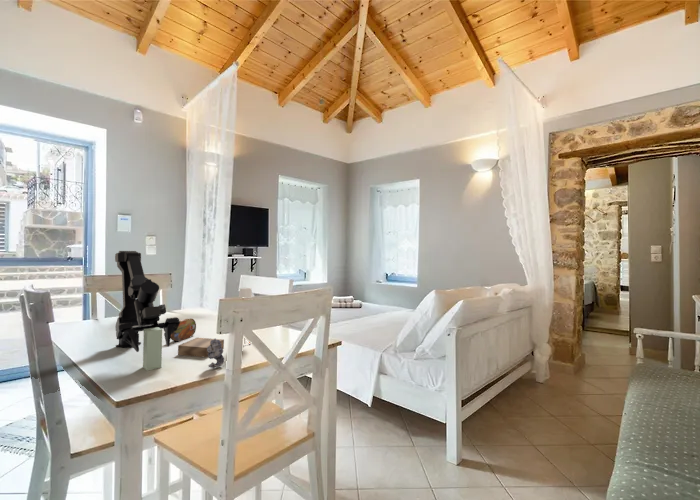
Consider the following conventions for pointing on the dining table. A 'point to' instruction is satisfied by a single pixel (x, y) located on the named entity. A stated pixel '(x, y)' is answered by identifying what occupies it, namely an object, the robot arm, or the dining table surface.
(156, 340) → the sage block
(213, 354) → the grey lumpy figurine
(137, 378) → the dining table surface
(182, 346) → the walnut block
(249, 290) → the champagne flute
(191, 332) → the tin
